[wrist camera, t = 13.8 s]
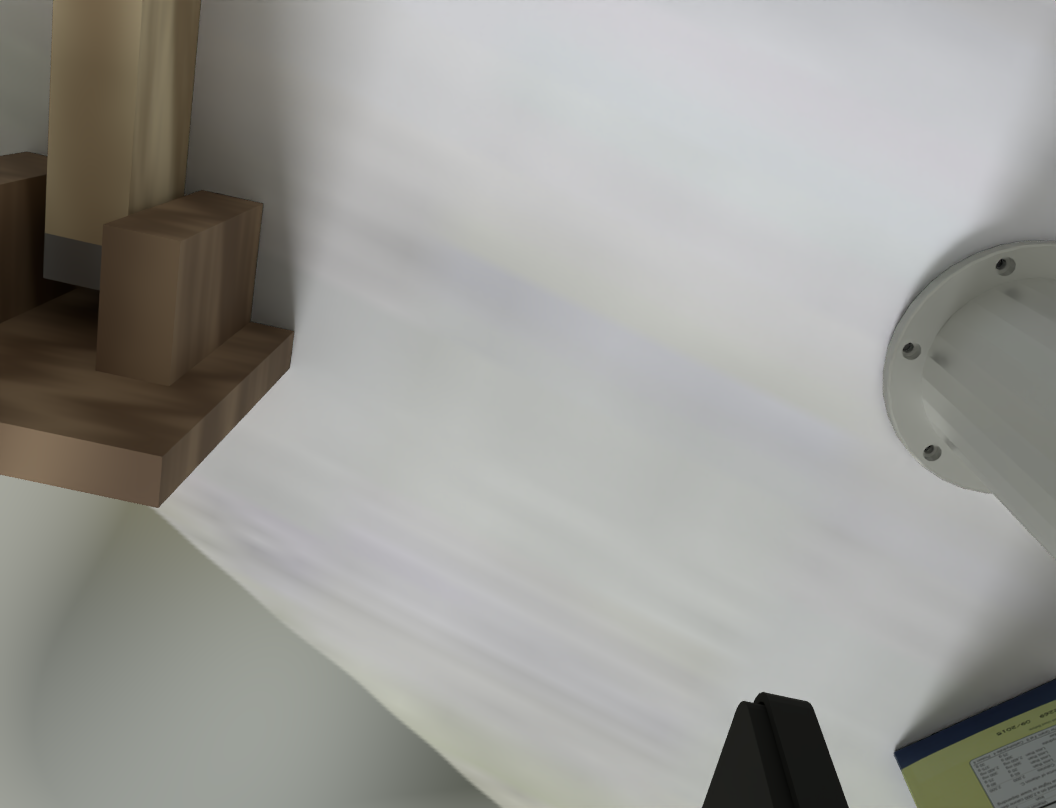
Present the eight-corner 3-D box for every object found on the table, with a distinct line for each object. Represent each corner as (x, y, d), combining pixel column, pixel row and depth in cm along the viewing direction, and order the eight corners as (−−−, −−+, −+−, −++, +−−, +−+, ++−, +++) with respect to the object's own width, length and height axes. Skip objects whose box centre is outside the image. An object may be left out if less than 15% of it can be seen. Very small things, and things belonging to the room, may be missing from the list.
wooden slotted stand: (309, 213, 46) (175, 290, 31) (289, 368, 48) (158, 507, 33) (-21, 141, 45) (-320, 182, 30) (-21, 301, 48) (-296, 412, 33)
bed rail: (222, -246, 39) (162, -297, 34) (177, 267, 47) (122, 295, 41) (139, -266, 39) (64, -320, 34) (107, 251, 47) (43, 277, 41)
